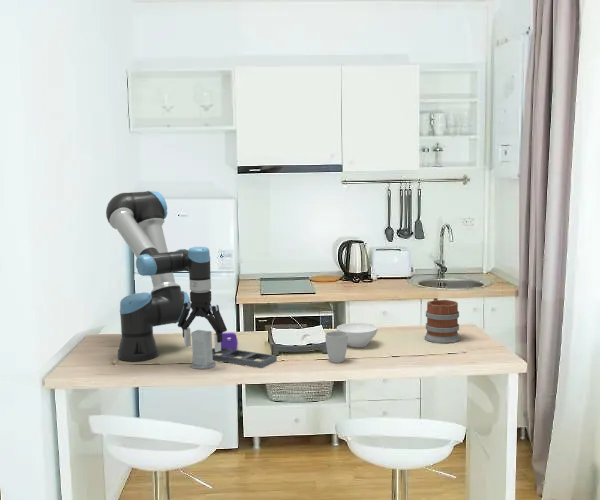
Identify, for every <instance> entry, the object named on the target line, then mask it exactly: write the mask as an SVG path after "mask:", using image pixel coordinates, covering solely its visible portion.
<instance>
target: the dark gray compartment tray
mask: <svg viewBox="0 0 600 500" xmlns="http://www.w3.org/2000/svg"><path fill="white" fill-rule="evenodd" d="M241 356H242V357H241ZM212 357H213V362H220V361H222V363H226V362H228V363H229V364H233V363H234V365H239V364H241V365H240V366H245V365H247V366H246V367H252V366H253V368H258V369H263V368H265V367H267V366H269V365H271V364H274V363H275V361H276V362H277V361H278V360H277V359H278V358H277V355H276V354H267V353H262V352H261V353H260V352H256V351H254V352H253V351H247V350H239V349H237V350H235V349H228V348H221V351H218V352H215V347H212ZM259 360H261V361H259Z"/></svg>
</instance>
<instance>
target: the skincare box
mask: <svg viewBox="0 0 600 500" xmlns="http://www.w3.org/2000/svg"><path fill="white" fill-rule="evenodd" d="M191 346H192V347H191V348H192V351H191V352H192V363H193V364H194V365H202V366H208V365H210V364H212V363H213V362H214V360H213V357H212V349H213V340H212V331H211V330H203V329H196V330H194V331H191Z"/></svg>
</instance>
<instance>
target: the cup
mask: <svg viewBox="0 0 600 500" xmlns="http://www.w3.org/2000/svg"><path fill="white" fill-rule="evenodd" d="M324 336H325V346H326V353H327V357H328V359H329V362H331V363H336V364H337V363H340V364H341V363H343V362H344V361H345V358H346V354H347V350H348V349H347V348H348V345H347V338H348V334H347V333H346V332H341V331H337V330H336V331H329V332H326V333H325V335H324Z"/></svg>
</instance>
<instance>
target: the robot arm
mask: <svg viewBox="0 0 600 500" xmlns="http://www.w3.org/2000/svg"><path fill="white" fill-rule="evenodd" d="M167 210H168V205H167V201H166V199H165V198H164V196H163V194H162V193H160V192H159V191H154V190H153V191H152V190H151V191H150V190H146V191H135V192H121V193H118V194H116V195H114V196H113V197H112V198H111V199H110V200H109V202H108V203H107V206H106V211H105V216H106V220H107V222H108V223H109V225H110V226H111V227H112V228H113V229H114V230H117V232H118V233H119V235H120V236H121V237H122V238H123V241H125V243H126V245H127V246H128V247H129V249H130V250H131V251H132V253H133V254H134V255H135V257H136V260H135V268H136V270H137V273H138V275H140V276H143V277H145V276H149V277H150V279H151V283H152V287H153V288H152V290H151V292H150V293H149V292H136V293H131V294H129V295H126V296H124V297H123V298H122V299H121V300H120V303H119V314H120V330H121V331H120V332H121V339H120V342H119V346H118V349H117V358H118V359H119V360H120V361H124V362H140V361H141V362H142V361H148V360H152V359H154V358H157V357H158V356H159V355H160V354H159V353H160V351H159V346H157V343H156V338H155V337H154V332H153V331H154V328H153V327H159V326H163V325H170V324H171V325H172V324H177V327H178V328H181V329H182V337H183V339H184V340H183V342H184V348H189V347H191V346H192V334H191V328H190V326H191V324H192V323H193V322H194V319H195V318H196V317H200V318H204V319H205V320H207V322H208V323H209V325H210V326H211V328H212V329H213V331H214V332H215V333H214V337H213V338H214V348H215V352H218V351H221V342H222V333H226V332H227V331H228V329H227V326H226V324H225V322H224V321H225V320H223V316H222V314H221V313H220V307H219V305H218V304H215V305H212V303H211V302H212V291H211V290H212V281H211V280H212V278H211V274H212V273H211V256H210V255H211V254H210V249H209V248H208V247H207V246H193V247H189V248H188V249H185V248H179V249H177V250H174V251H168V248H167V247H168V246H167V243H166V238H165V234H164V231H163V225H164V224H165V221H166V220H165V219H166V218H167V217H168V216H167V215H168V211H167ZM181 272H188V275H189V278H188V279H189V280H188V281H189V291H190V292H189V294H188V293H187V291H184V290H182V288H181V285H180V284H178V283H176V280H175V276H174V273H181ZM190 311H191V312H190Z"/></svg>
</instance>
